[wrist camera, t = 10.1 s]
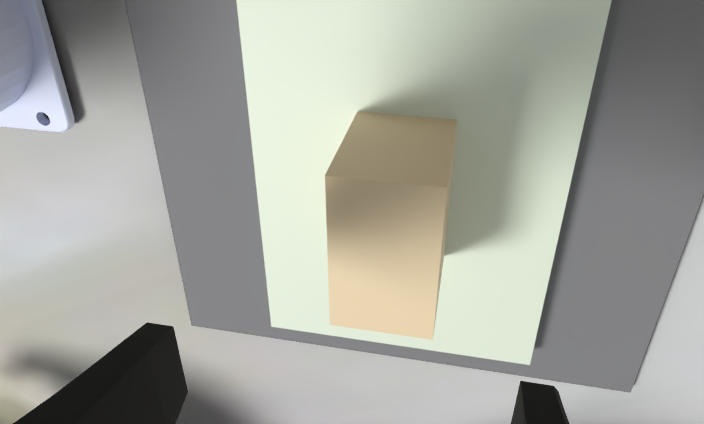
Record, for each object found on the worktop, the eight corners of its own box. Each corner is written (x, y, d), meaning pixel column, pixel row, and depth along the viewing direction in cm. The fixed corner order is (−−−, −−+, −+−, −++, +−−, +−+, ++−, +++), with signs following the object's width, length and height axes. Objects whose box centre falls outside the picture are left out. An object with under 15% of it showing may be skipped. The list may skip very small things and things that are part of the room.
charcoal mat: (194, 320, 26) (191, 325, 26) (113, -84, 17) (108, -83, 17) (629, 386, 23) (630, 392, 23) (794, -68, 14) (799, -66, 14)
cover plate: (277, 313, 24) (234, 406, 20) (241, -59, 17) (161, -23, 13) (529, 349, 23) (534, 459, 19) (615, -47, 15) (655, -2, 11)
